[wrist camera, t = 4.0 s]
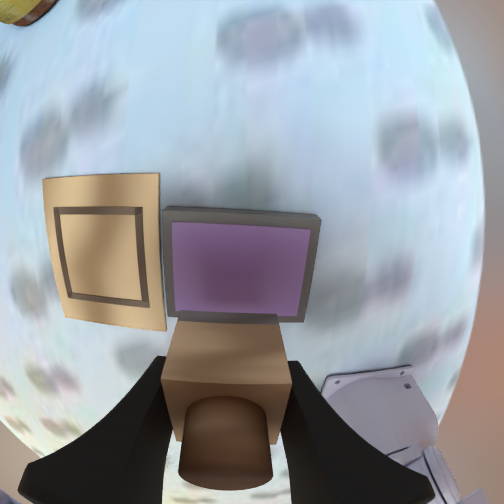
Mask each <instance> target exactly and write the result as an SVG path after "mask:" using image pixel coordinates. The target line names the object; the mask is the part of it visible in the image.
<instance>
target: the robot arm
mask: <svg viewBox="0 0 504 504" xmlns="http://www.w3.org/2000/svg"><path fill="white" fill-rule="evenodd" d="M165 361H166V357H165V356H157V357H156V358H155V359H154V360H153V362H152V363H151V364H150V366H149V367H148V369H147V370H146V371H145V372H144V374H143V375H142V376H141V378H140V379H139V380H138V381H137V383H136V384H135V385H134V386H133V387H132V388H131V390H130V391H129V392H128V393H127V394H126V395H125V397H124V398H123V399H122V400H121V401H120V402H119V403H118V404H117V405H116V406H115V407H114V408H113V409H112V410H111V411H110V412H109V413H108V414H107V415H106V416H105V417H104V418H103V419H102V420H100V421H99V422H98V423H97V424H96V425H95V426H93V427H92V428H91V429H89V430H88V431H87V432H85V433H84V434H83V435H81V436H80V437H79V438H77V439H76V440H74V441H73V442H71V443H69V444H68V445H66V446H64V447H62V448H61V449H59V450H57V451H56V452H54V453H52V454H50V455H47V456H45V457H43V458H41V459H38V460H36V461H34V462H31V463H29V464H28V465H27V467H26V469H25V471H24V473H23V476H22V479H21V481H20V484H19V487H18V492H19V494H20V495H22V496H23V497H25V498H26V499H27V500H29V501H30V502H32V503H34V504H162V490H163V477H164V467H165V461H166V456H167V451H168V447H169V443H170V438H171V434H172V430H173V427H172V423H171V420H170V416H169V412H168V408H167V404H166V400H165V396H164V392H163V387H162V383H161V375H162V372H163V368H164V364H165ZM287 362H288V367H289V371H290V376H291V380H292V386H291V391H290V395H289V399H288V403H287V407H286V410H285V414H284V418H283V422H282V425H281V429H280V431H281V436H282V441H283V445H284V450H285V454H286V459H287V464H288V469H289V478H290V489H291V501H292V504H489V502H488V500H487V498H486V496H485V494H484V492H483V489H482V488H479V489H477V490H476V491H474V492H473V493H471V494H470V495H468V496H467V497H465V498H464V499H462V497H461V493H460V490H459V488H458V485H457V483H456V480H455V478H454V476H453V474H452V472H451V470H450V468H449V466H448V464H447V462H446V460H445V458H444V457H443V455H442V453H441V451H440V450H439V448H437V447H434V445H435V443H436V441H437V438H438V422H437V418H436V415H435V413H434V411H433V410H432V408H431V406H430V405H429V403H428V401H427V400H426V398H425V396H424V395H423V393H422V392H421V390H420V388H419V387H418V385H417V384H416V382H415V380H414V379H413V377H412V376H411V375H412V373H413V371H414V368H413V366H407V367H401V368H395V369H389V370H382V371H375V372H367V373H359V374H349V375H339V376H330V377H328V378H327V379H326V382H325V384H324V387H323V390H322V393H320V392H319V391H318V389H317V388H316V386H315V385H314V384H313V382H312V381H311V379H310V378H309V376H308V375H307V373H306V372H305V370H304V369H303V367H302V366H301V364H300V363H299V362H298V361H287ZM0 504H21V503H19V502H18V501H16V500H15V499H13V498H12V497H10V496H9V495H8V494H7V493H5V492H4V491H3V490H1V489H0Z"/></svg>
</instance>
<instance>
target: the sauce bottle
mask: <svg viewBox="0 0 504 504" xmlns="http://www.w3.org/2000/svg"><path fill="white" fill-rule="evenodd" d="M55 1H56V0H0V22H3V23H6V24H14V25H16V26H25V25H28V24H30V23H32V22H34V21H35V20H36V19H38V18H39V17H40V16H41V15H42V14H43V13H45V12H46V11H47V10H48V9H49V8H50V7H51V6H52V5H53V4H54V3H55Z"/></svg>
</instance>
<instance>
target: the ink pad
mask: <svg viewBox="0 0 504 504" xmlns="http://www.w3.org/2000/svg"><path fill="white" fill-rule="evenodd" d="M320 226H321V219H320V218H319V217H318V216H317V215H313V214H301V213H288V212H274V211H259V210H242V209H224V208H201V207H172V206H167V207H166V208H165V209H164V210H162V231H163V258H164V276H165V291H166V303H167V314H168V317H179V314H180V311H181V310H191V311H208V312H231V313H268V314H277V318H278V322H304V319H305V314H306V308H307V303H308V298H309V293H310V287H311V282H312V276H313V270H314V264H315V258H316V252H317V246H318V239H319V232H320Z"/></svg>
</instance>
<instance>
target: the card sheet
mask: <svg viewBox="0 0 504 504" xmlns="http://www.w3.org/2000/svg"><path fill="white" fill-rule="evenodd" d="M42 181H43V199H44V211H45V220H46V229H47V236H48V243H49V249H50V255H51V260H52V266H53V271H54V275H55V280H56V284H57V289H58V293H59V297H60V301H61V305H62V308H63V312H64V315H65V317H67V318H72V319H78V320H83V321H89V322H95V323H101V324H108V325H115V326H122V327H129V328H137V329H146V330H154V331H164V332H166V330H167V326H166V317H165V307H164V296H163V283H162V268H161V249H160V214H159V183H160V173H137V174H105V175H86V176H71V177H59V178H48V179H42Z"/></svg>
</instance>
